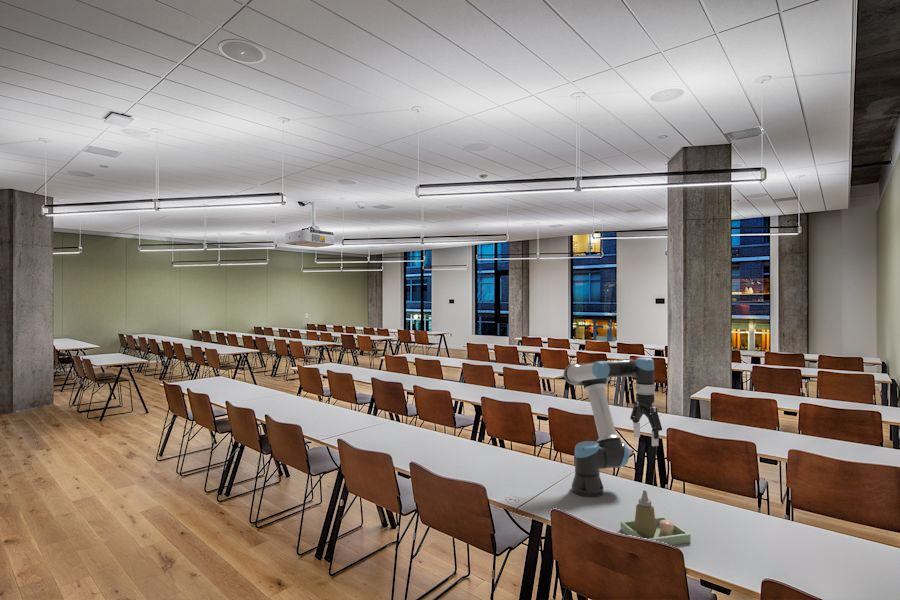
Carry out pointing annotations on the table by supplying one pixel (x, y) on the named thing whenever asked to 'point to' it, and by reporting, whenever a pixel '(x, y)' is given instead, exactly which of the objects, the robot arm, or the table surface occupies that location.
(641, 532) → the squeeze bottle
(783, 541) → the table surface
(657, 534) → the tray
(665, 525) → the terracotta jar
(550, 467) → the table surface
